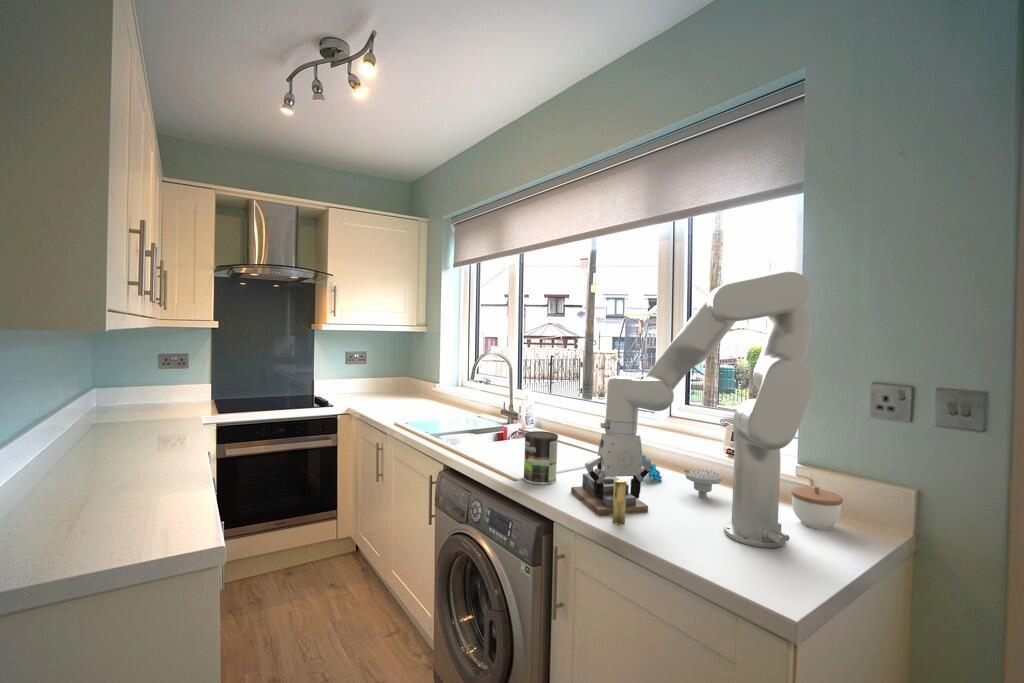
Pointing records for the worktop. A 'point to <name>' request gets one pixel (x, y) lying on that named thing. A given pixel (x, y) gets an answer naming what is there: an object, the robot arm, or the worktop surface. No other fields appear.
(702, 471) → the showerhead
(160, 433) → the worktop surface
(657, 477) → the gear
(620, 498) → the brass pin
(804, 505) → the lidded jar
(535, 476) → the coffee can
